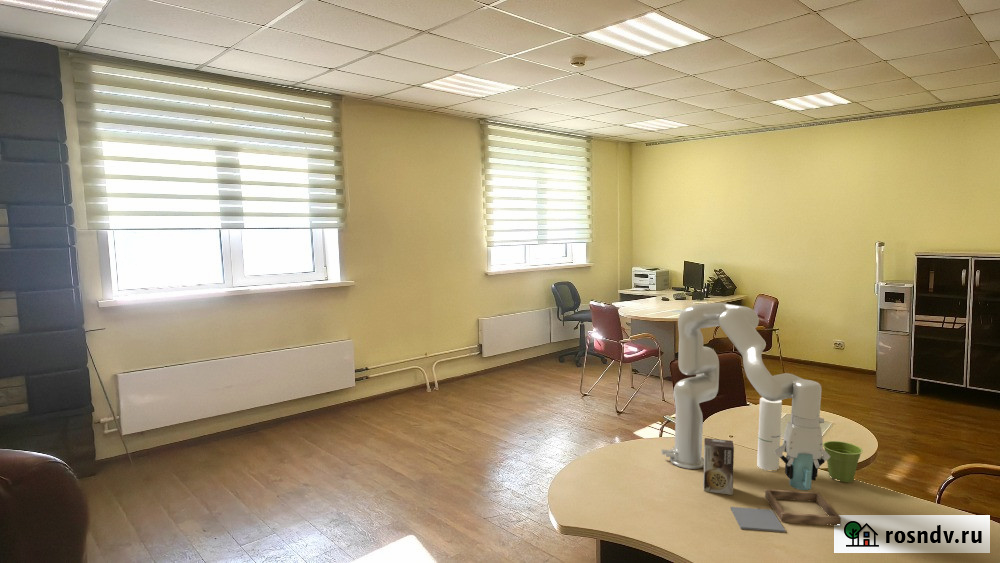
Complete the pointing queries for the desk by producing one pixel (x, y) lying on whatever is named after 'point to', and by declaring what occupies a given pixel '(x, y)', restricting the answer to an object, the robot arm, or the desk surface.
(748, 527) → the rubber mat
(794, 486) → the teal mug
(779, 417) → the cylindrical container
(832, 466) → the plant pot
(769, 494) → the brown wooden square frame
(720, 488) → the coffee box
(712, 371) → the robot arm
